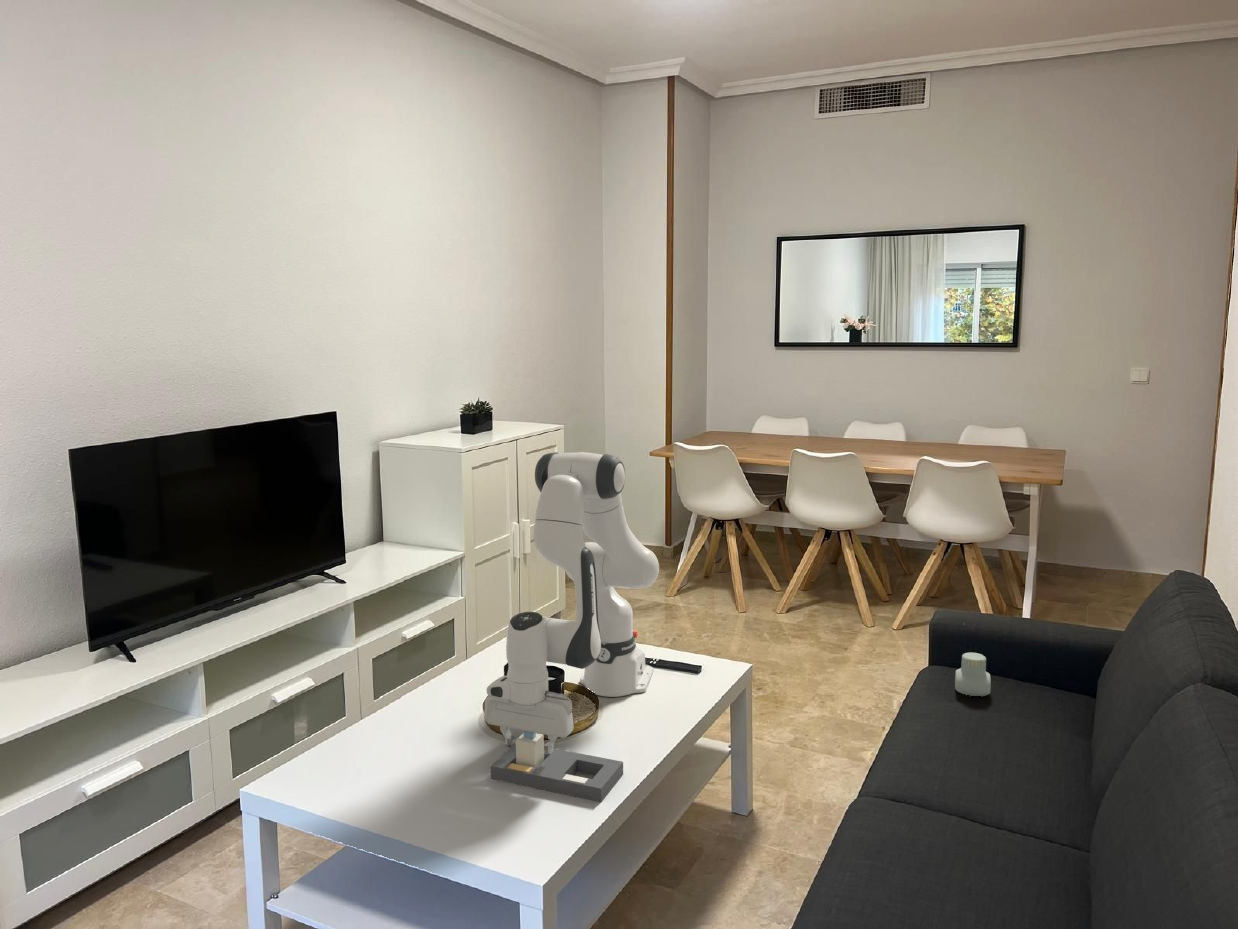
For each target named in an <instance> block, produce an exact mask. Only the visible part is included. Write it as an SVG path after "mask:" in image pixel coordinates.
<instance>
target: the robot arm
mask: <svg viewBox="0 0 1238 929" xmlns="http://www.w3.org/2000/svg"><path fill="white" fill-rule="evenodd" d="M534 482H535V484H536V487H537V489H538V491H539V492H540V495H539V498H538V499H539V500H538V503H537V508H536V513H535V518H534V526H533V536H532V537H533V544H534V547H535V548H536V551H537V552H538V553H539V554H540V555H541V557H542V558H544V559H545V560H546V561H547V562H550V563H551V564H553V565H555V566H557V567H559V568H561V569H562V570H564V571H565V573H566V574H567V576H568V578H569V579H571V580H572V581H573V583H574V593H575V616H576V617H575V620H569V619H561V618H555V617H547V616H543V615H542V614H540V613H538V612H535V611H523V612H519V613H517V614H515V615H514V616H512V617H511V618H510V620H509V621H508V626H507V632H506V645H505V646H506V649H505V650H506V653H505V654H506V656H505V657H506V661H507V663H508V665H509V668H508V672H507V676H504V675H503V676H500V677H498V678H497V679H495V680H494V681H492V682H491V683H490V684H489V685H488V686H487V687H486V694H487V696H486V698H485V701H484V720H485V722H486V723H487V724H488V725H491V726H496V727H499V729H500V732H501V734H502V735H503V737H504V739H505V746H508V745H509V746H513V745H514V744H515V736H514V735H512V734H511V732H510V730H509V728H512V729H518V730H523V731H529V732H534V733H537V734H543V735H544V736H545V735H546V736H547V739H548V740H549V741H546V743H544V749H545V750H544V752H545V753H550V754H551V753H552V752H553V750H554V749H555V748H554V744H555V742H556V741H557V739H558V738H562V739H565V738H567V737H568V736H569V735H570V734H571V733H572V732H573V731H574V719H573V712H572V710H573V702H572V700H571V699H570V698H569V697H568V696H567V695H566V694H564V693H557V692H554V691H549V671H548V668H547V663H553V664H558V665H560V664H561V665H565V666H569V667H573V668H576V669H580V670H583V669H584V674H583V675H582V676H581V677H579V682H580V683H581V684H582V685H584V687H585V689H586V688H589V689H590V690H591V691H593V692H595V693H596V694H595V695H596V696H601V697H607V698H608V697H609V698H610V697H614V698H615V697H616V698H617V697H625V696H628V695H629V696H630V695H632V694H639V693H640V694H641V693H645V692H646V691H647V689H648V687H649V684H650V681H651V680H652V677H653V674H654V671H655V670H654V667H652V666H651V665H648V664H646V654H645V652H644V651H643V650H642V649H641V648H639V647H638V646H637V644H636V642H637V641H636V639H637V638H638V636H639V631H638V630H634V629H633V625H634V624H633V622H634V621H633V620H634V618H633V617H634V616H633V614H634V613H633V609H632V606H631V604H630V603H629V602H628V600H626V599H625V598H624V597H622V596H620V595H619V593H618V592H617V591H616V589H615V588H620V589H629V590H636V589H646V588H650V587H651V586H653V584H654V583H655V582H656V581H657V578H658V576H659V572H660V563H659V559H658V558H657V556H656V554H655V553H654V552H653V551H652V550H650V549H649V548H647V547H646V546H644V545H643V543H642V542H640V541H639V540H638V539H637V537H636V536H635V534H634V533H633V532H632V531H631V529H630V526H629V524H628V522H627V517H626V514H625V509H624V504H623V497H622V491H623V489H624V487H625V482H626V469H625V465H624V463H623V462H622V460H621V458H619V457H618V456H615V455H612V454H609V453H605V454H602V453H601V454H600V453H594V452H587V451H579V452H557V451H556V452H555V451H554V452H548V453H545V454H544V455H542V456H541V457H540V458H539V459H538V461H537V462H536V466H535V470H534ZM583 533H584V534H585V535H586V537H588V539H590V540H591V541H588V542H587V541H586V542H585V538H584V534H583ZM509 746H508V747H509Z"/></svg>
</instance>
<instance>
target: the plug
mask: <svg viewBox="0 0 1238 929" xmlns="http://www.w3.org/2000/svg"><path fill="white" fill-rule="evenodd" d="M544 736H545V734H539V733H534V732H529V731H523V734H522V735H521V736H520V737H519V738H517V739H516V764H519V765H524V766H529V767H534V768H537V767H538V766H539V765H540V764H541V763H542V762H543V761H544V745H545V742H544V738H545V737H544Z"/></svg>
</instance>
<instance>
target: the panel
mask: <svg viewBox="0 0 1238 929" xmlns="http://www.w3.org/2000/svg"><path fill="white" fill-rule="evenodd" d="M544 750H545V749H544ZM578 773H579V774H583V775H584V774H585V775H589V776H594V777H593V778H587V777H584V776H583V777H582V776H578V775H576V774H578ZM623 775H624V761H621V760H616V759H611V758H606V757H600V756H595V755H591V754H590V755H589V754H585V753H581V752H579V753H578V752H574V751H570V750H565V749H558V748H554V750H553V752H552V753H551V754H550V753H545V752H544V761H543V762H542V763H541V764H540V765H539V766H538V767H537V768H534V767H529V766H524V765H519V764H516V743H515V744H514V745H513V746H512V747H509V748H508V749H507V750H506V751H505V752H504V753H502V755H501V756H500V757H499V758H498V759H495V761H494V762H493V763H492V764H490V779H491V780H495V781H499V782H500V781H501V782H506V783H510V784H513V785H519V786H524V787H529V788H534V789H539V790H542V791H546V792H551V793H557V794H562V795H567V796H570V797H577V798H581V799H585V800H590V801H595V802H599V803H602V802H603V801H604V799H605V798H606V797H607V796H608V795H609V793H610V792H611V791H612V789H613V788H614V787H615V786H616V784H617V783H618V782H619V781H620V780H621V778H622V777H623Z"/></svg>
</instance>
